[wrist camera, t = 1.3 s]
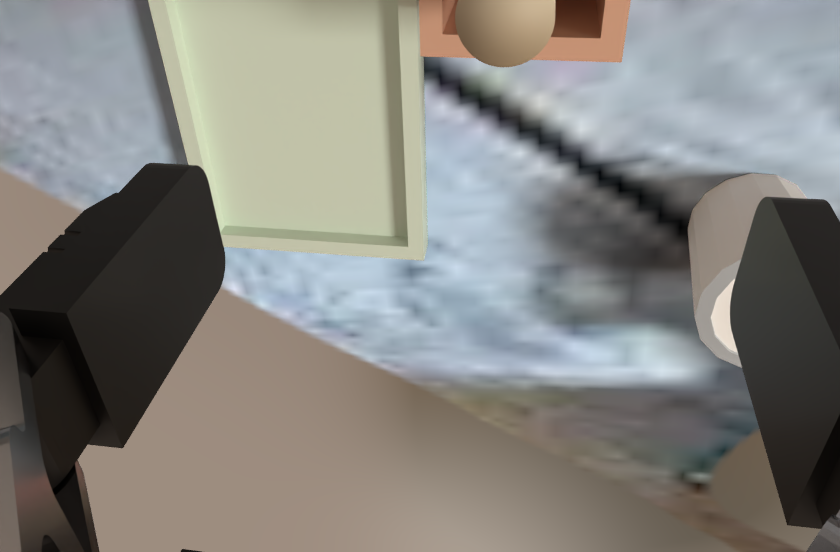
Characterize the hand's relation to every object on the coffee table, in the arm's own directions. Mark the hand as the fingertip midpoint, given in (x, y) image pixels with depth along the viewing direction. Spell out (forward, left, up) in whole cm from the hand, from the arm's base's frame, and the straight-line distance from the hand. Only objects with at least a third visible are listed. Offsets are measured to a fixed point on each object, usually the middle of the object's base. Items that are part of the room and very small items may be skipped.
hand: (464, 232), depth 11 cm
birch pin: (0, 0, -22) cm, 22 cm away
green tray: (+9, -10, -23) cm, 27 cm away
